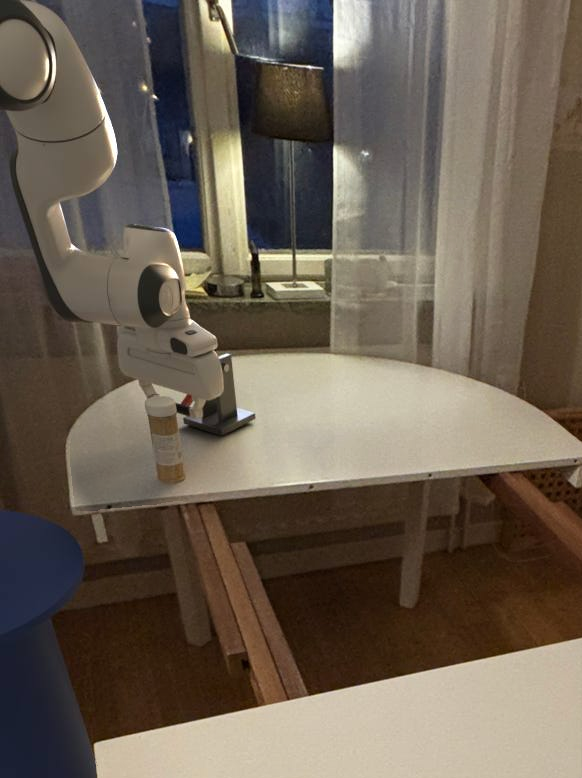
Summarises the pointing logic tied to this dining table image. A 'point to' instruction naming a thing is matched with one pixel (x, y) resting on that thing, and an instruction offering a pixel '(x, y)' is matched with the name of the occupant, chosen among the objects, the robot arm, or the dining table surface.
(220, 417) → the bracket
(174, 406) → the sprinkles bottle
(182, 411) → the lever
